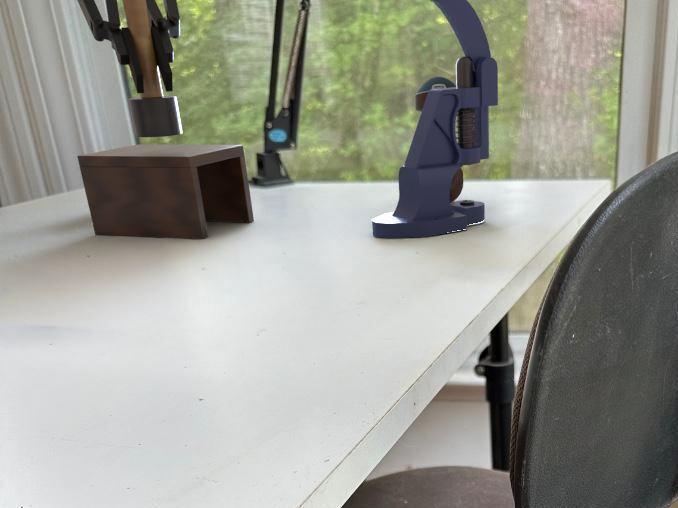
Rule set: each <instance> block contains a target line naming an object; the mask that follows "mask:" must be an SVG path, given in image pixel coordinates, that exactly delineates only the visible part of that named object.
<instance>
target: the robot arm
mask: <svg viewBox="0 0 678 508" xmlns="http://www.w3.org/2000/svg"><path fill="white" fill-rule="evenodd" d="M104 1H105V6H106V7H105V9H106V15H107V16H106V17H107V20H104V19H103V17H102V14H101V12H100V10H99V8H98V5H97V4H96V0H77V1H76V2H77V3H78V5H79V8H80V10H81V12H82V14H83V16H84V19H85V21H86V23H87V25H88V27H89V30H90V32H91V34H92V36H93V39H94V40H95V41H96V42H104V41H105V40H106V41H109V42H110V43H111V44H110V45H111V48H112V49H113V51H114V52H115V56H116V59H117V62H118V63H119V65H120V66H128V68H129V71H130V74H131V77H132V80H133V83H134V87H135V89H136V93H137V94H140V93H144V82H143V73H142V69H141V66H140V63H139V60H138V57H137V54H136V50H135V47H134V44H133V41H132V38H131V35H130V31H129V28H128V27H127V26H126V27H125V26H124V27H123V26H121V18H120V10H119V5H118V0H104ZM162 1H163V6H164V11H165V15H164V16H163V14H162V11H161V8H160V7H159V5H158V3H157V1H156V0H146V3H147V8H148V14H149V20H150V25H151V31H152V36H153V42H154V47H155V53H156V58H157V64H158V69H159V75H160V78H161V80H162V83H163V86H164V89H165V92H173V90H174V88H173V87H174V86H173V82H174V81H173V71H172V68H171V65H170V64H173V63H174V60H175V59H174V57H175V55H174V52H175V51H174V47H173V43H172V40H171V38H172V39H175V40H176V39H177V40H178V39H179V38H180V37H181V17H180V11H179V7H178V2H177V0H162Z"/></svg>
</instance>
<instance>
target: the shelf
mask: <svg viewBox="0 0 678 508" xmlns="http://www.w3.org/2000/svg"><path fill="white" fill-rule="evenodd" d="M76 157H77V161H78V165H79V170H80V175H81V178H82V179H81V180H82V183H83V187H84V192H85V196H86V201H87V205H88V209H89V213H90V218H91V222H92V226H93V231H94V234H95V236H97V235H98V236H116V237H117V236H119V237H120V236H121V237H141V238H142V237H143V238H145V237H146V238H165V237H174V238H173V239H189V238H190V239H192V240H193V239H195V240H205V239H207V238H209V234H208V227H207V222H217V223H219V222H223V223H247V224H248V223H252V222H254V221H255V219H254V218H255V217H254V212H253V204H252V197H251V191H250V183H249V175H248V168H247V161H246V155H245V148H244V144H170V143H169V144H165V143H164V144H157V143H155V144H154V143H153V144H150V143H149V144H147V143H145V144H142V143H141V144H140V143H139V144H133V145H132V144H131V145H129V146H122V147H117V148H116V147H115V148H111V149H107V150H100V151H95V152H90V153H84V154H79V155H77V156H76ZM206 237H207V238H206Z"/></svg>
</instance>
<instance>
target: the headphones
mask: <svg viewBox="0 0 678 508" xmlns="http://www.w3.org/2000/svg"><path fill="white" fill-rule="evenodd" d="M452 87H456V83H454V82H453V81H452V80H450V79H449V78H447V77H444V76H434V77H432V78H429V79H428V80H426V81H424V82H423V84H422V85H421V86H420V87H419V88H418V90H417V92H416V94H415V97H414V105H415V106H414V107H415V110H416V111H417V112H422V109H423V106H424V103H425V100H426V97H427V94H428V91H429V90H430V89H442V88H452ZM463 189H464V170H463V169H462V167H461V168H460V169H458V170H457V171H456V173H455V175H454V177H453V180H452V182H451V186H450V203H451V202H455V201H456V200H457V199H458V198H459V197H460V195H462V194H461V193H462V191H463Z"/></svg>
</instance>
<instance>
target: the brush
mask: <svg viewBox="0 0 678 508" xmlns="http://www.w3.org/2000/svg"><path fill="white" fill-rule="evenodd" d="M121 2H122V6H123V11H124V16H125V22H126V27H128V28H129V31H130V35H131V38H132V41H133V44H134V47H135V50H136V54H137V57H138V60H139V63H140V66H141V69H142V73H143V82H144V93H139V94H140V96H138V97H137V96H136V97H130V98H128V105H129V111H130V114H131V119H132V125H133V130H134V135H135V137H136V138H161V137H173V136H179V135H182V134H183V127H182V120H181V115H180V110H179V104H178V103H179V102H178V98H177V96H176V95H164V91H163V87H162V81H161V80H162V79H161V74H160V71H159V67H158V64H157V58H156V53H155V47H154V42H153V36H152V31H151V25H150V20H149V14H148V8H147V3H146V0H122V1H121Z"/></svg>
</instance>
